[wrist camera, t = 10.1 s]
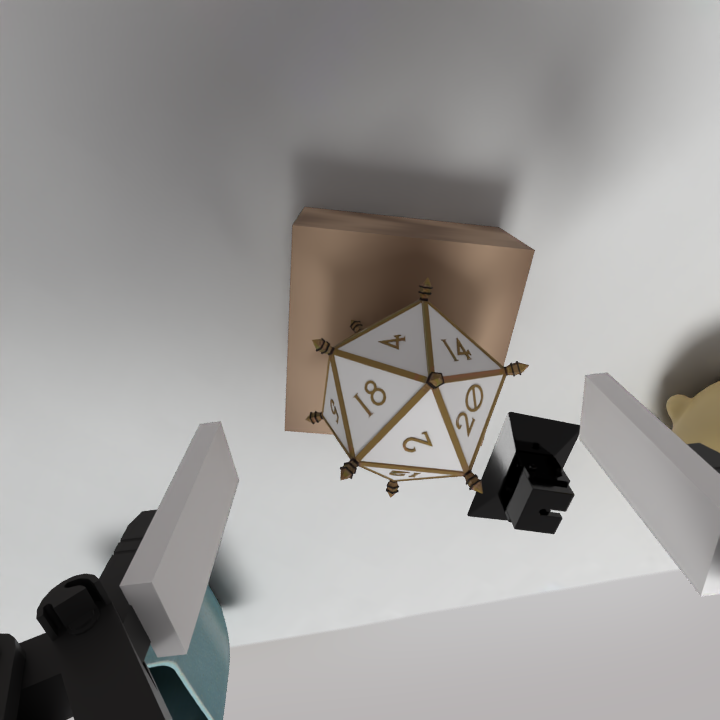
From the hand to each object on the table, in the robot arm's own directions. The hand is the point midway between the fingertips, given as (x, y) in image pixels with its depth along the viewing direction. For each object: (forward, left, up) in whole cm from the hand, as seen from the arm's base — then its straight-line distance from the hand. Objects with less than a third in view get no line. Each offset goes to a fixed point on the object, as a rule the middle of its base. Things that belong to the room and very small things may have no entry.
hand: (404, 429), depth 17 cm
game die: (0, 0, -7) cm, 7 cm away
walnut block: (0, 0, -13) cm, 13 cm away
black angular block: (+9, -14, -13) cm, 21 cm away
